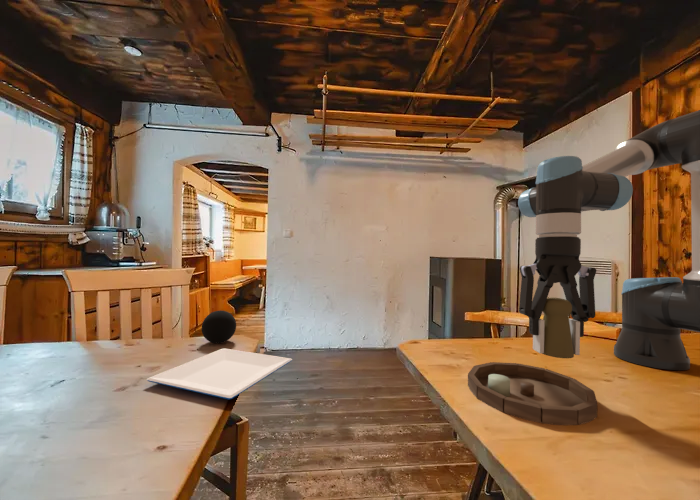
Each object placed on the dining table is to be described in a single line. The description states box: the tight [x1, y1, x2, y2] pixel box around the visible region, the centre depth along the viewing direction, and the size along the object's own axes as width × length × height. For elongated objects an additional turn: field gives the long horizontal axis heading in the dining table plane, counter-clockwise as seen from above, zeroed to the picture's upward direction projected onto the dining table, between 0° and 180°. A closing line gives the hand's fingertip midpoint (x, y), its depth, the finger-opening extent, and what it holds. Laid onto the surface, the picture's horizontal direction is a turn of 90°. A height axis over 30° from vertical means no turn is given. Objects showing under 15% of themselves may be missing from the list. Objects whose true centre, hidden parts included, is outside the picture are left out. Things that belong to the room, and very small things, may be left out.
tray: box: [467, 361, 598, 426], centre depth 62 cm, size 22×22×3 cm
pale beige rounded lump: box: [488, 374, 510, 397], centre depth 62 cm, size 4×4×3 cm
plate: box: [146, 347, 293, 400], centre depth 71 cm, size 22×22×2 cm
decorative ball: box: [201, 310, 237, 344], centre depth 96 cm, size 10×10×10 cm
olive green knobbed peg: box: [541, 297, 575, 359], centre depth 61 cm, size 6×6×11 cm
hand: (555, 351), depth 61 cm, fingers closed on olive green knobbed peg, 6 cm apart
